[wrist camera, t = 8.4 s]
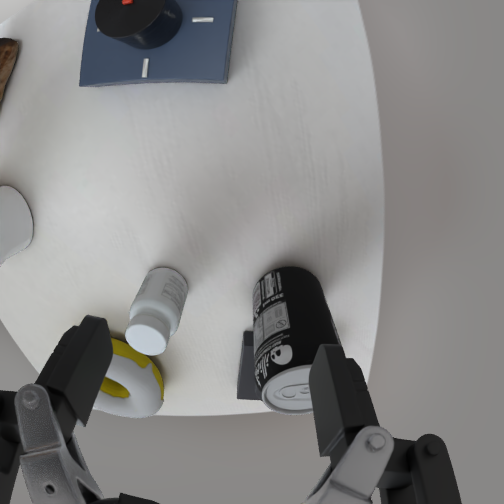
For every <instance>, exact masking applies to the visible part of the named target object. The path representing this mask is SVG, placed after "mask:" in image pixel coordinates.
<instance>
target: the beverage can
mask: <svg viewBox="0 0 504 504" xmlns="http://www.w3.org/2000/svg"><path fill="white" fill-rule="evenodd" d="M253 329H254V366H255V383H256V386H257V388H258V389H259V391H260V392H261V393H262V400H263V402H264V404H265V405H266V406H267V407H268V408H269V409H271V410H273V411H275V412H278V413H281V414H287V415H303V414H309V413H313V407H312V401H311V395H310V389H309V372H310V369H311V366H312V364H313V361H314V359H315V356H316V354H317V351H318V349H319V346H320V345H321V344H336V345H341V342H340V339H339V336H338V333H337V330H336V327H335V324H334V322H333V319H332V316H331V313H330V310H329V307H328V304H327V301H326V299H325V296H324V293H323V290H322V288H321V285H320V282H319V281H318V279H317V278H316V277H315V276H314V275H313V274H312V273H311V272H309V271H307V270H305V269H302V268H298V267H282V268H278V269H275V270H273V271H271V272H269V273H267V274H266V275H264V276H263V277H262V278H261V279H260V280H259V282H258V283H257V284H256V286H255V289H254V292H253ZM341 346H342V345H341Z"/></svg>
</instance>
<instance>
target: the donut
mask: <svg viewBox="0 0 504 504" xmlns="http://www.w3.org/2000/svg"><path fill="white" fill-rule="evenodd" d="M111 341H112V345H113V357H112V361H111V364H110V366H109V368H108V371H107V373H106V375H105V378H104V380H103V383H102V385H101V388H100V390H99V393H98V395H97V398H96V400H95V403H94V405H93V406H94V407H96V408H98V409H100V410H102V411H105V412H107V413H110V414H114V415H119V416H126V417H132V418H144V417H149V416H152V415H154V414H155V413H157V412H158V411H159V409H160V408H161V406H162V404H163V402H164V399H163V396H164V385H163V380H162V377H161V375H160V372H159V370H158V369H157V367H156V366H155V364H154V363H153V362H152V361H151V360H150V359H149V358H148V357H147V356H146V355H144V354H143V353H140V352H138V351H136V350H135V349H133V348H132V347H131V346H130V345H129V344H126V343H124V342H122V341H119V340H117V339H114V338H111ZM109 378H110V379H109ZM111 379H113V380H111Z"/></svg>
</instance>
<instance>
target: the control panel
mask: <svg viewBox="0 0 504 504" xmlns="http://www.w3.org/2000/svg"><path fill="white" fill-rule="evenodd" d="M175 1H176V2H177V3H178V5H179V6H180V8H181V11H182V23H181V26H180V28H179V30H178V32H177V33H176V34H175V36H174V37H173V38H172V39H171V40H169V41H168V42H167V43H165V44H164V45H162V46H160V47H157V48H154V49H147V50H143V49H137V48H134V47H132V46H130V45H127V44H125V43H123V42H120V41H118V40H116V39H113V38H111V37H108V36H106V35H104V34H103V33H101V32H100V31H99V29H98V28H97V26H96V23H95V10H96V6H97V4H98V2H99V0H91V5H90V10H89V15H88V20H87V26H86V32H85V38H84V45H83V53H82V61H81V71H80V83H79V86H80V87H102V86H111V85H123V84H137V83H161V82H197V83H222V84H226V83H227V79H228V70H229V61H230V53H231V45H232V37H233V29H234V22H235V14H236V7H237V0H175Z"/></svg>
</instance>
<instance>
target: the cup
mask: <svg viewBox="0 0 504 504" xmlns="http://www.w3.org/2000/svg"><path fill="white" fill-rule="evenodd" d="M32 236H33V220H32V217H31V213H30V210H29V208H28V205H27V203H26V201H25V200H24V198H23V197H22V195H21V194H20V193H19V192H18V191H17V190H15V189H14V188H12V187H10V186H1V187H0V267H1V265H2V264H3V263H4V261H5V260H6V259H8V258H10V257H11V256H13V255H15V254H17V253H19V252H20V251H22V250H23V249H25V248H27V246H28V245H29V244H30V242H31V239H32Z"/></svg>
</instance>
